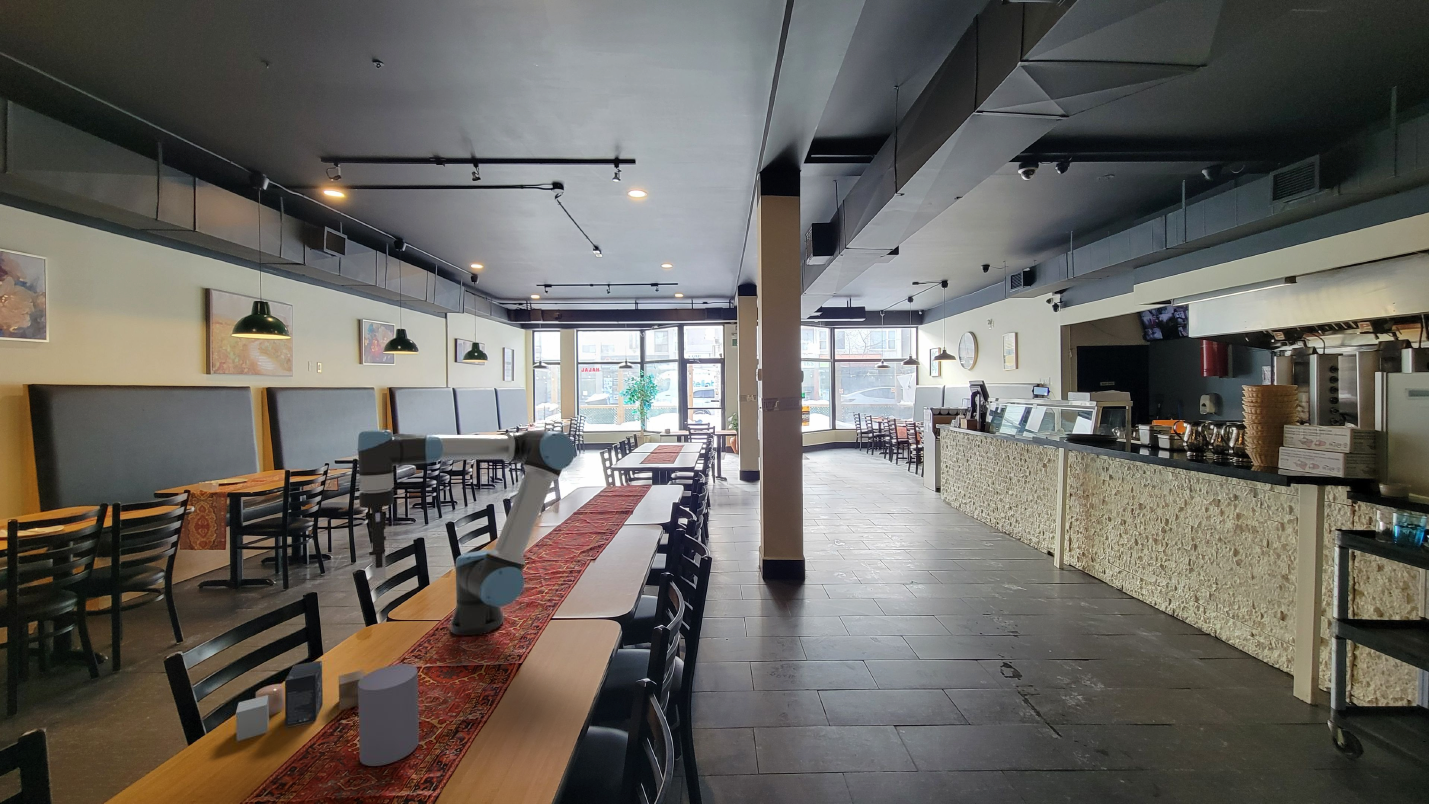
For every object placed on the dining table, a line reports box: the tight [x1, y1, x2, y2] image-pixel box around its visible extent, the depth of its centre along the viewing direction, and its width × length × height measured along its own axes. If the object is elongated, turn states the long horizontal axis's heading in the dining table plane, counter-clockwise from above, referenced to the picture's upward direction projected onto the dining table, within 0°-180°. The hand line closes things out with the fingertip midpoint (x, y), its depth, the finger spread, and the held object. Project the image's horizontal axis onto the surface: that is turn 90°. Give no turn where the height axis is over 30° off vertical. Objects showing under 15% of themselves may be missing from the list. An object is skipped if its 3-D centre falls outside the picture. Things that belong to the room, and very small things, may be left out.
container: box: [358, 663, 420, 767], centre depth 111 cm, size 10×10×15 cm
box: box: [284, 660, 324, 728], centre depth 124 cm, size 8×6×11 cm
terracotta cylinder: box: [255, 683, 285, 717], centre depth 126 cm, size 5×5×5 cm
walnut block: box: [338, 669, 365, 711], centre depth 130 cm, size 5×5×6 cm
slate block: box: [235, 695, 270, 742], centre depth 119 cm, size 5×5×6 cm
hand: (378, 573), depth 141 cm, fingers open, 13 cm apart
